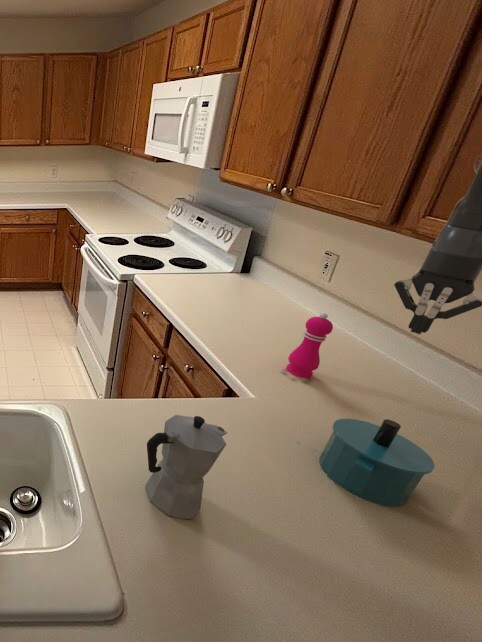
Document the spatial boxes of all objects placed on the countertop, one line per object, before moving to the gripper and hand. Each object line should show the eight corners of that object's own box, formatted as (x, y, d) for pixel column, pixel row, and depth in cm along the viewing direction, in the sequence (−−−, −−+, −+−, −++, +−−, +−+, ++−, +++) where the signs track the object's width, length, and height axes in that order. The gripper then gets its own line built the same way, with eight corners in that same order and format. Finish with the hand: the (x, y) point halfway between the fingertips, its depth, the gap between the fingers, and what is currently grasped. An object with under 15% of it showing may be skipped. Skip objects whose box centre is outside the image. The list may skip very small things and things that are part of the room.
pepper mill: (318, 378, 120) (347, 317, 113) (302, 382, 118) (331, 319, 110) (293, 366, 127) (318, 306, 119) (277, 369, 124) (303, 308, 116)
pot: (417, 482, 84) (438, 450, 80) (392, 525, 73) (415, 489, 70) (335, 441, 94) (351, 411, 90) (304, 473, 83) (320, 440, 80)
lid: (438, 458, 79) (455, 433, 77) (421, 489, 71) (439, 462, 69) (344, 415, 90) (356, 392, 88) (320, 437, 82) (332, 413, 80)
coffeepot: (183, 473, 80) (210, 397, 74) (221, 514, 72) (255, 432, 65) (114, 484, 76) (137, 405, 70) (146, 529, 68) (174, 444, 61)
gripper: (514, 259, 76) (464, 342, 82) (416, 241, 85) (378, 316, 92) (511, 263, 71) (459, 350, 78) (408, 244, 81) (369, 323, 88)
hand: (415, 332), depth 85 cm, fingers closed
